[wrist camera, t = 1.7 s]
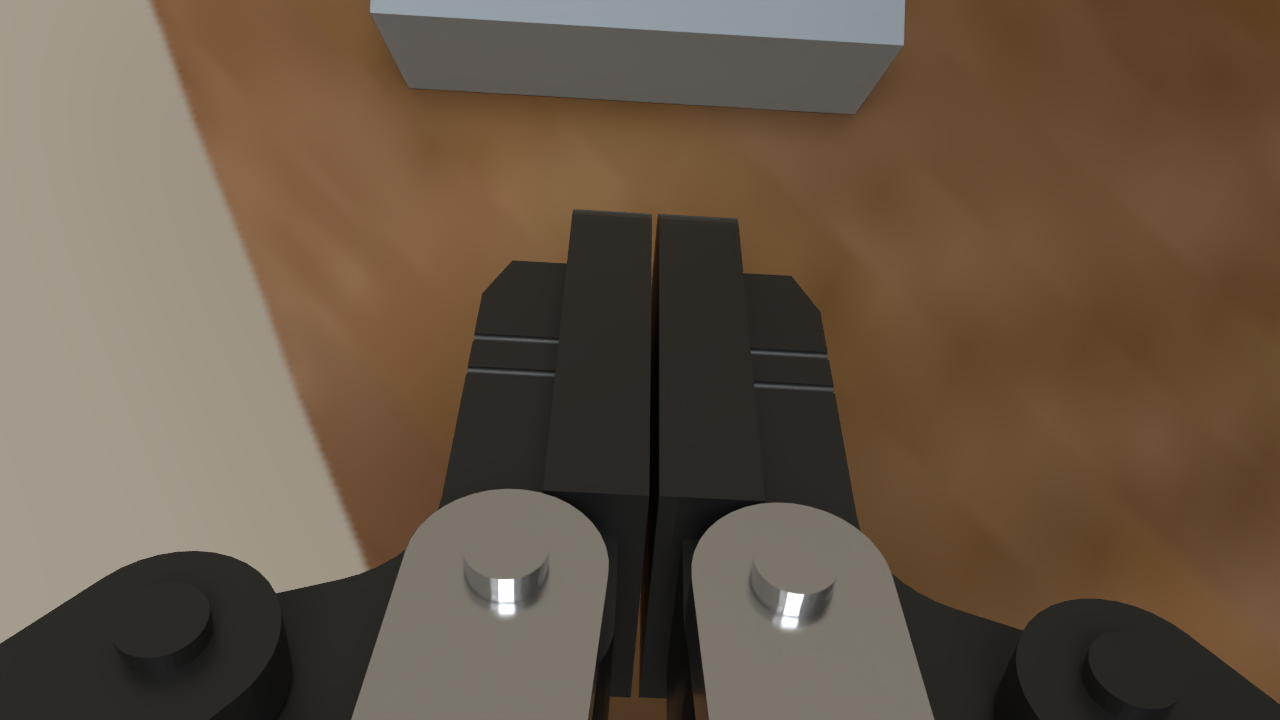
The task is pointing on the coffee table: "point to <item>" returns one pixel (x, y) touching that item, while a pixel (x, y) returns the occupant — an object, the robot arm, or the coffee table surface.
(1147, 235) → the coffee table surface
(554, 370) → the robot arm
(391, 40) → the platform
